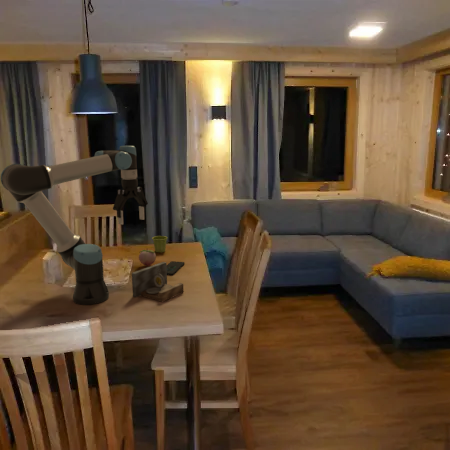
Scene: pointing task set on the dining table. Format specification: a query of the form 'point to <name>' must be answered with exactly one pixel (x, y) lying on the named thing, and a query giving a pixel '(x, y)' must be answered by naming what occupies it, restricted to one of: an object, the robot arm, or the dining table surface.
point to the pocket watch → (157, 284)
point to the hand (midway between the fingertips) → (131, 221)
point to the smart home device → (174, 267)
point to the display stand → (146, 280)
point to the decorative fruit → (147, 257)
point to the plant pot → (159, 243)
